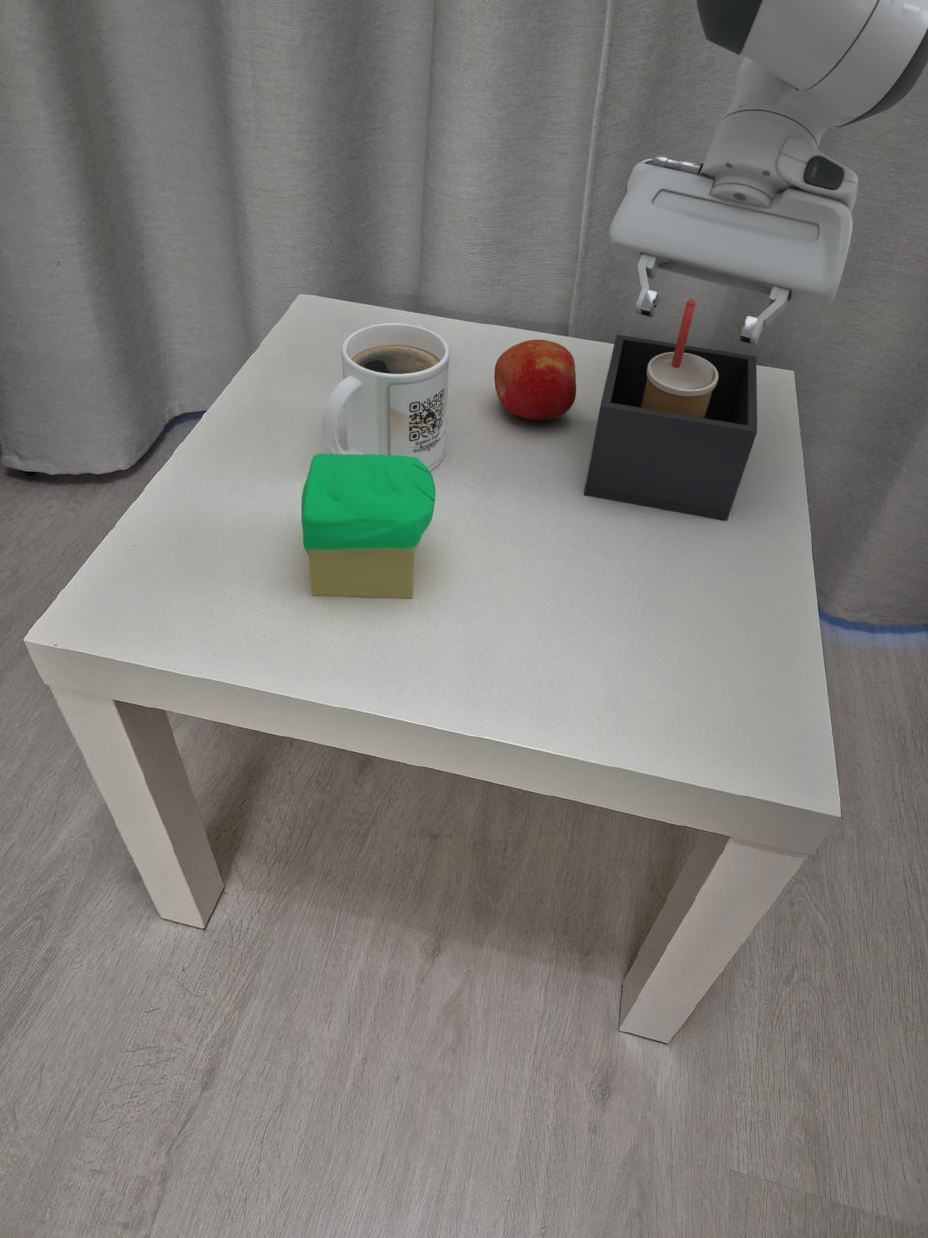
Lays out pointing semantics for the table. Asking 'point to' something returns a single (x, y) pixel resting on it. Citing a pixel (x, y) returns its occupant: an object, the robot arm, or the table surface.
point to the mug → (392, 393)
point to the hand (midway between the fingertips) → (694, 326)
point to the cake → (365, 523)
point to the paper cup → (680, 377)
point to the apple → (536, 379)
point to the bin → (673, 435)
